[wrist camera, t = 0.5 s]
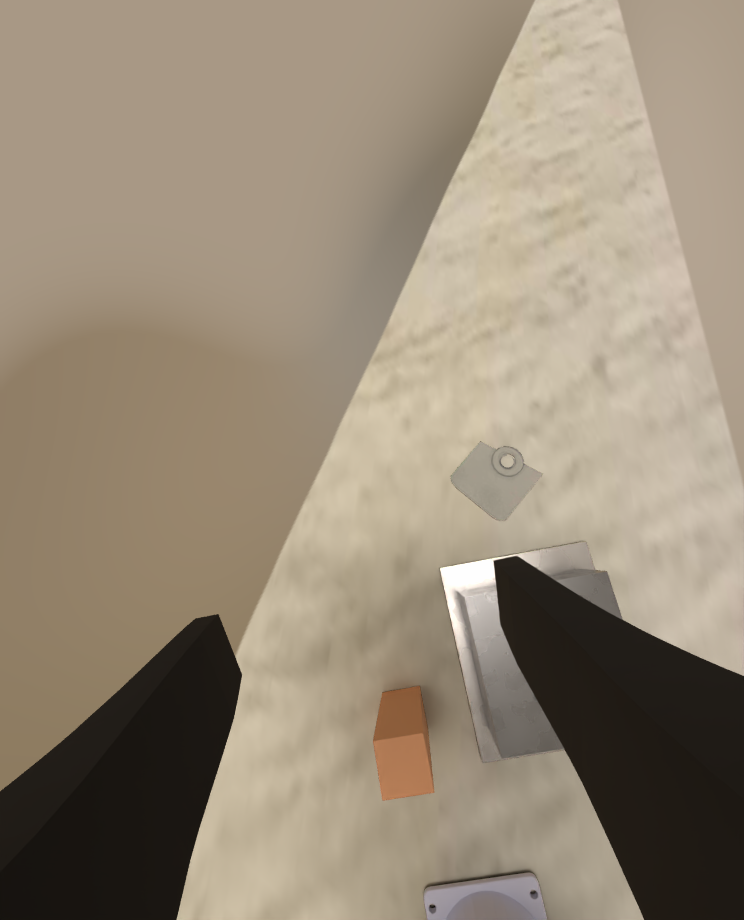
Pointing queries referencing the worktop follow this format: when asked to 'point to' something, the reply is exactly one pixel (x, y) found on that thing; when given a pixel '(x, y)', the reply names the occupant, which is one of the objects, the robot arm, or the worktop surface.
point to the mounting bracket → (494, 480)
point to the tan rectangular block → (403, 745)
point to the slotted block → (490, 658)
